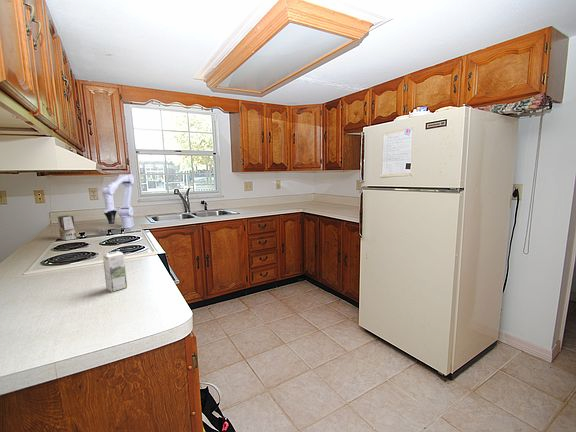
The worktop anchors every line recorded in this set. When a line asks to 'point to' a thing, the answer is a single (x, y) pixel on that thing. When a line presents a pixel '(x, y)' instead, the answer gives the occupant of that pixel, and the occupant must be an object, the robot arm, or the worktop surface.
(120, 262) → the syrup box
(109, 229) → the upper end link
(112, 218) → the pin
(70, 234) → the coffee box
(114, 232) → the lower end link
